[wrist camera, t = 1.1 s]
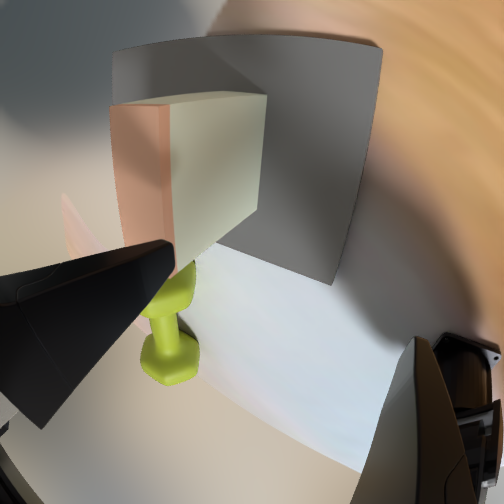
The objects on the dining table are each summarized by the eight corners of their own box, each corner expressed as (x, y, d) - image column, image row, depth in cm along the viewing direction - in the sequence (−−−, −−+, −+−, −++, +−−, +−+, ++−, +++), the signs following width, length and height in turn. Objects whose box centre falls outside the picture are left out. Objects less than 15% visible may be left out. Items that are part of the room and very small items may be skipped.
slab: (267, 94, 16) (158, 106, 9) (256, 209, 20) (170, 278, 14) (223, 90, 17) (109, 106, 10) (218, 198, 22) (127, 256, 15)
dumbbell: (152, 232, 29) (99, 267, 24) (214, 261, 27) (161, 308, 21) (165, 332, 39) (131, 365, 34) (212, 360, 36) (179, 399, 31)
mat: (383, 50, 12) (381, 48, 11) (334, 279, 21) (331, 285, 20) (119, 51, 20) (112, 52, 19) (126, 203, 29) (121, 206, 28)
